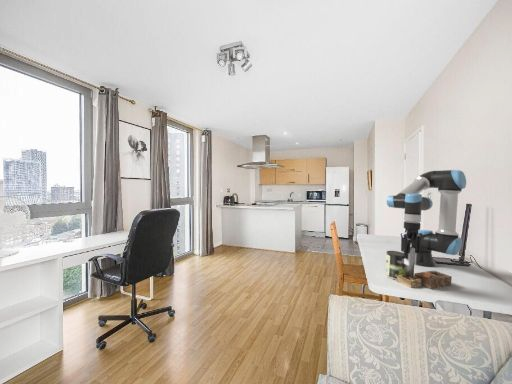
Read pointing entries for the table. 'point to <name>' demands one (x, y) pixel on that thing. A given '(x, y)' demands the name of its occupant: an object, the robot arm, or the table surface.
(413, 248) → the peg
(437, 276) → the socket block
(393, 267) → the coffee can
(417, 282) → the open wooden tray
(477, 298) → the table surface
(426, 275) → the button
